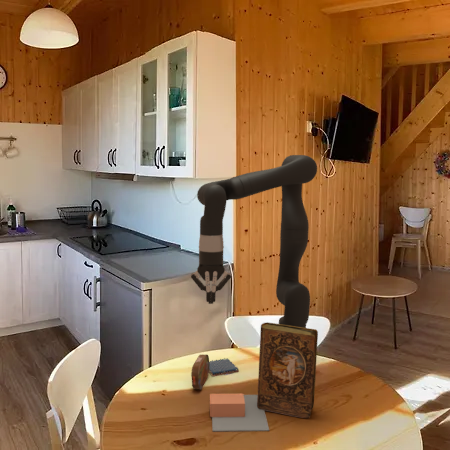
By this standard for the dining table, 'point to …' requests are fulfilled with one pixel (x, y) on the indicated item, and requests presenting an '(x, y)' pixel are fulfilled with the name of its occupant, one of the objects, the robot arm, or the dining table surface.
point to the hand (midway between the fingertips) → (210, 303)
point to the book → (287, 369)
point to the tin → (200, 371)
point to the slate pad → (243, 419)
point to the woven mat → (222, 367)
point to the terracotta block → (227, 405)
